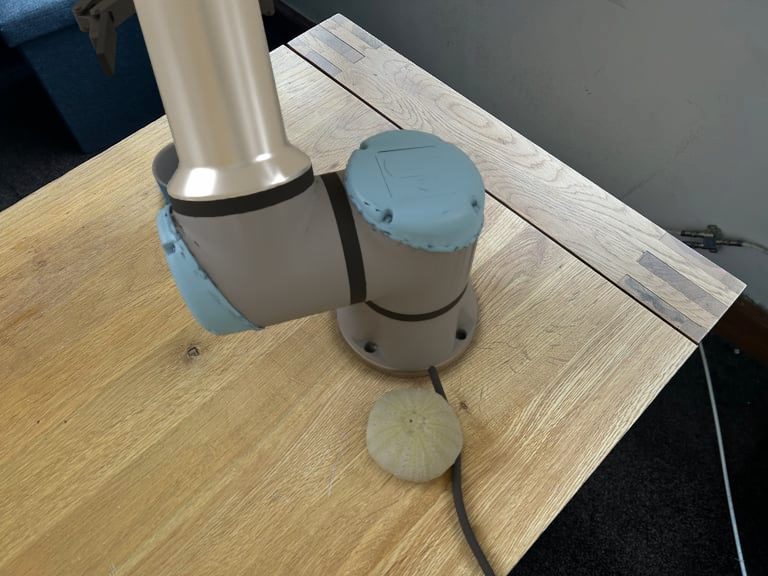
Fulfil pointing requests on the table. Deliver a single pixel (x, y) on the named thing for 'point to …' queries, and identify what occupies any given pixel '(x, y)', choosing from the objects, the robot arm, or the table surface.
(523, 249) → the table surface
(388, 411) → the sea urchin shell
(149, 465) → the table surface
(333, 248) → the robot arm
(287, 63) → the table surface
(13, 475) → the table surface
